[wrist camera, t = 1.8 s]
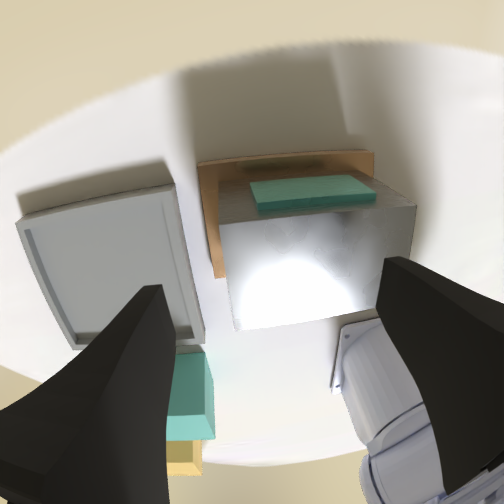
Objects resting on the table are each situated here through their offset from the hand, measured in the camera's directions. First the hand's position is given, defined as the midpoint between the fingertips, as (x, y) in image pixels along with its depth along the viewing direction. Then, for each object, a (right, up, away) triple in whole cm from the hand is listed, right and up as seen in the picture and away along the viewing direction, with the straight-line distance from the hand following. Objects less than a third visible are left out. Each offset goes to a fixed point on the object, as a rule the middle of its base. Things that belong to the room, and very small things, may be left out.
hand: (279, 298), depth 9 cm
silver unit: (+1, +4, +9) cm, 10 cm away
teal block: (-6, -9, +14) cm, 18 cm away
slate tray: (-10, 0, +9) cm, 14 cm away
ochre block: (-9, -17, +19) cm, 26 cm away
